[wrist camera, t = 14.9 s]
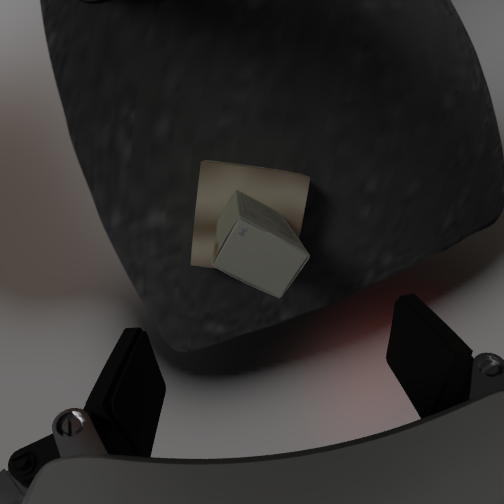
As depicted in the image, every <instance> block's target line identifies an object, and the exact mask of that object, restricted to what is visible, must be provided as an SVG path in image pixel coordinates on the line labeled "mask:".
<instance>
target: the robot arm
mask: <svg viewBox="0 0 504 504" xmlns="http://www.w3.org/2000/svg"><path fill="white" fill-rule="evenodd" d="M81 1H86V2H93V1H98V0H81ZM472 352H473V351H472V350H471V349H470V348H469V347H468V346H467V345H466V344H465V343H464V341H463V340H462V339H461V338H460V337H458V335H457V334H456V333H455V332H454V331H453V330H452V329H451V328H450V327H449V326H447V324H446V323H444V322H443V321H442V320H441V319H440V318H439V317H438V316H437V315H436V314H435V313H434V312H433V311H432V310H431V309H430V308H429V307H428V306H427V305H426V304H425V303H424V302H422V301H421V300H420V299H419V298H418V297H417V296H416V295H415V294H408V295H403V296H400V297H399V299H398V300H397V301H396V302H395V306H394V312H393V320H392V326H391V332H390V338H389V344H388V349H387V354H386V359H387V363H388V365H389V366H390V368H391V370H392V371H393V373H394V374H395V376H396V378H397V379H398V381H399V382H400V384H401V386H402V387H403V389H404V391H405V392H406V394H407V395H408V397H409V399H410V400H411V402H412V404H413V406H414V407H415V409H416V411H417V412H418V414H419V416H420V418H421V419H420V420H417V421H414V422H412V423H409V424H406V425H403V426H400V427H397V428H394V429H391V430H388V431H384V432H381V433H378V434H374V435H371V436H367V437H363V438H359V439H355V440H351V441H347V442H343V443H339V444H334V445H329V446H324V447H319V448H314V449H308V450H303V451H296V452H289V453H282V454H273V455H265V456H254V457H242V458H223V459H174V458H152V457H151V452H152V447H153V443H154V439H155V434H156V430H157V425H158V421H159V417H160V413H161V409H162V405H163V401H164V397H165V392H166V386H165V382H164V380H163V377H162V374H161V372H160V369H159V366H158V364H157V361H156V358H155V355H154V352H153V349H152V347H151V344H150V341H149V338H148V335H147V333H146V332H145V331H142V329H141V328H125V330H124V331H123V333H122V335H121V337H120V338H119V340H118V342H117V344H116V346H115V347H114V349H113V351H112V353H111V355H110V357H109V359H108V360H107V362H106V364H105V366H104V368H103V370H102V372H101V374H100V376H99V378H98V380H97V382H96V384H95V386H94V388H93V389H92V391H91V393H90V396H89V398H88V400H87V402H86V405H85V407H84V409H83V410H82V409H79V408H71V409H67V410H65V411H63V412H61V413H60V414H59V415H58V416H57V417H56V418H55V419H54V421H53V424H52V430H53V434H51V435H49V436H47V437H45V438H43V439H40V440H38V441H36V442H34V443H32V444H30V445H28V446H26V447H24V448H21V449H19V450H17V451H16V452H14V453H13V454H12V456H11V457H10V459H9V463H8V469H9V470H8V471H6V470H5V469H3V470H2V471H1V472H0V504H504V360H503V359H502V358H501V357H500V356H498V355H496V354H492V353H481V354H479V355H477V356H476V357H475V358H473V357H472V356H471V355H472Z"/></svg>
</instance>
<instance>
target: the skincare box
mask: <svg viewBox="0 0 504 504" xmlns="http://www.w3.org/2000/svg"><path fill="white" fill-rule="evenodd" d="M309 257H310V255H309V253H308V252H307V250H306V249H305V247H304V246H303V244H302V243H301V242H300V240H299V239H298V237H297V236H296V234H295V233H294V231H293V230H292V229H291V227H290V226H289V224H288V223H287V221H286V220H285V218H284V217H283V216H282V215H281V214H280V213H278V212H277V211H275V210H273V209H272V208H270V207H268V206H266V205H265V204H263V203H261V202H259V201H257V200H256V199H254V198H252V197H250V196H248V195H246V194H244V193H242V192H240V191H238V190H235V191H234V193H233V194H232V196H231V198H230V199H229V201H228V203H227V204H226V206H225V208H224V210H223V211H222V213H221V215H220V217H219V219H218V222H217V228H216V235H215V242H214V249H213V256H212V266H214V267H215V268H217V269H219V270H221V271H222V272H224V273H226V274H228V275H230V276H232V277H234V278H236V279H238V280H240V281H242V282H244V283H246V284H248V285H250V286H253V287H255V288H257V289H259V290H261V291H264V292H266V293H268V294H271V295H273V296H275V297H277V298H281V297H282V295H283V294H284V292H285V291H286V290H287V289H288V287H289V286H290V285H291V283H292V282H293V281H294V279H295V278H296V276H297V275H298V274H299V272H300V271H301V269H302V268H303V267H304V265H305V264H306V262H307V261H308V259H309Z"/></svg>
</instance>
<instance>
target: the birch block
mask: <svg viewBox="0 0 504 504" xmlns="http://www.w3.org/2000/svg"><path fill="white" fill-rule="evenodd" d="M309 183H310V177H309V176H306V175H303V174H299V173H293V172H287V171H281V170H275V169H268V168H262V167H255V166H248V165H241V164H233V163H225V162H217V161H208V160H205V161H201V168H200V176H199V184H198V193H197V202H196V211H195V221H194V231H193V242H192V254H191V265H194V266H202V267H210V268H215V267H214V266H212V256H213V249H214V242H215V235H216V228H217V222H218V219H219V217H220V215H221V213H222V211H223V210H224V208H225V206H226V204H227V203H228V201H229V199H230V198H231V196H232V194H233V193H234V191H235V190H238V191H240V192H242V193H244V194H246V195H248V196H250V197H252V198H254V199H256V200H257V201H259V202H261V203H263V204H265V205H266V206H268V207H270V208H272V209H273V210H275V211H277V212H278V213H280V214H281V215H282V216H283V217H284V218H285V220H286V221H287V223H288V224H289V226H290V227H291V229H292V230H293V231H294V233H295V234H296V236H297V237H298V239H299V236H300V231H301V226H302V221H303V216H304V210H305V205H306V199H307V194H308V188H309Z"/></svg>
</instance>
